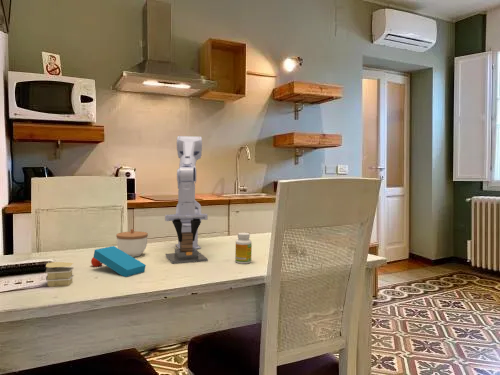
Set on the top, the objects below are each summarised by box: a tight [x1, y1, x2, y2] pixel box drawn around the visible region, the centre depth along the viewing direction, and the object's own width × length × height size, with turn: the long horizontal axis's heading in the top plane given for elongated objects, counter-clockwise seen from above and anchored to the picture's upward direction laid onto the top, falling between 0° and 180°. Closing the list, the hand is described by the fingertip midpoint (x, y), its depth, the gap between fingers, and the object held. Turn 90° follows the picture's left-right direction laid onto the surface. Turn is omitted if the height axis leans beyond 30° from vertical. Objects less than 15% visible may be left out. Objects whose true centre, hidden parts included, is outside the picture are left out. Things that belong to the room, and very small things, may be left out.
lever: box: [90, 245, 147, 278], centre depth 123 cm, size 7×7×19 cm
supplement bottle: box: [234, 232, 253, 265], centre depth 135 cm, size 5×5×10 cm
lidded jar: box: [115, 228, 149, 258], centre depth 143 cm, size 11×11×9 cm
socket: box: [165, 247, 209, 265], centre depth 139 cm, size 12×12×3 cm
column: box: [180, 232, 193, 252], centre depth 139 cm, size 4×4×7 cm
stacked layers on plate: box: [45, 261, 75, 288], centre depth 108 cm, size 10×9×6 cm
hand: (186, 241), depth 139 cm, fingers closed on column, 4 cm apart
